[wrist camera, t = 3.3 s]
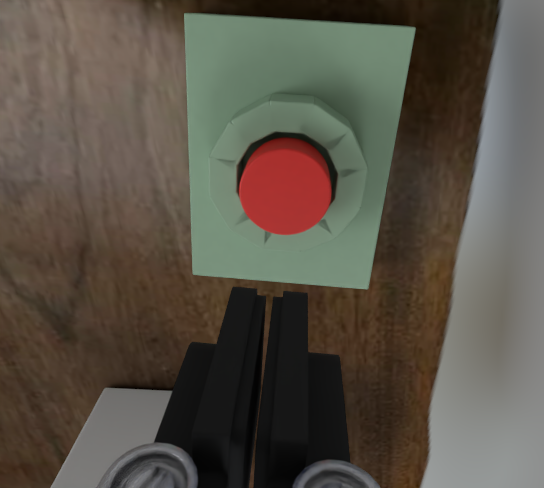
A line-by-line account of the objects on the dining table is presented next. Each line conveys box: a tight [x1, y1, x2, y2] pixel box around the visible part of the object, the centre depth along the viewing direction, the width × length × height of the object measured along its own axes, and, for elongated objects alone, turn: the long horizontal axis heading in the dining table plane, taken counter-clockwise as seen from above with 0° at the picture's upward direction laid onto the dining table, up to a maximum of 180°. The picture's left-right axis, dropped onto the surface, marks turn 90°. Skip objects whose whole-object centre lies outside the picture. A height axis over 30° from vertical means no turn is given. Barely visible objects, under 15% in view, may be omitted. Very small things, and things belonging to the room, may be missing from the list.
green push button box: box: [184, 13, 416, 289], centre depth 20 cm, size 12×9×4 cm
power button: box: [239, 137, 332, 235], centre depth 18 cm, size 4×4×2 cm
